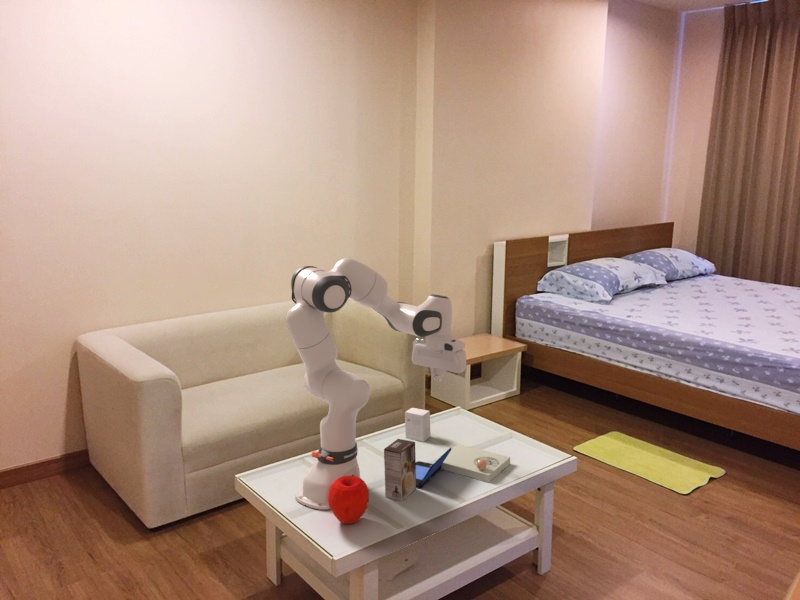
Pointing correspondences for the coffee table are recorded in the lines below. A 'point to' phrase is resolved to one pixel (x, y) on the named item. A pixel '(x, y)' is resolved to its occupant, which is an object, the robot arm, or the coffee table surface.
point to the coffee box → (400, 469)
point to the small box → (417, 424)
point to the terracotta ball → (481, 464)
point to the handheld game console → (428, 470)
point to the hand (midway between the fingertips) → (438, 380)
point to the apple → (348, 498)
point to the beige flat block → (474, 463)
